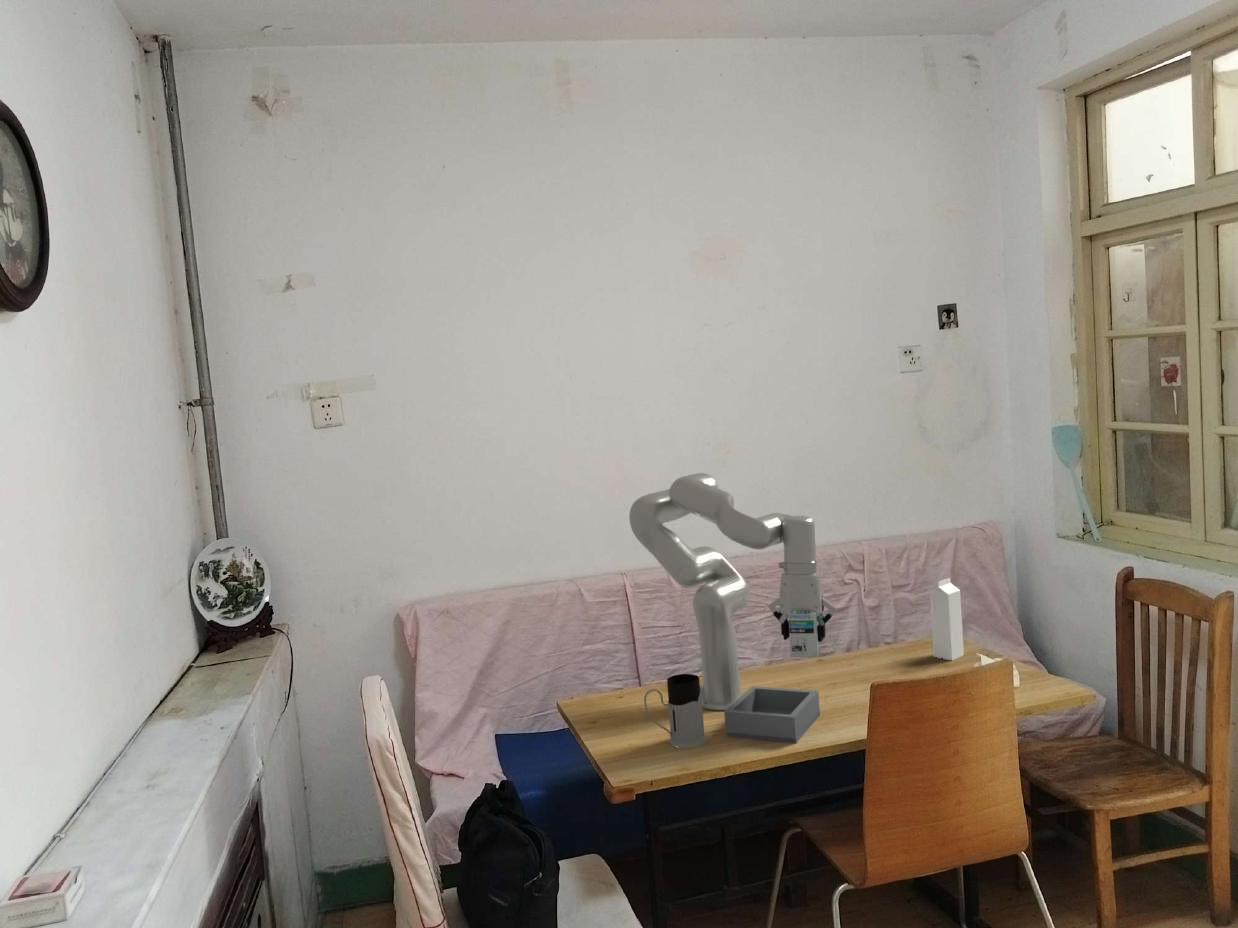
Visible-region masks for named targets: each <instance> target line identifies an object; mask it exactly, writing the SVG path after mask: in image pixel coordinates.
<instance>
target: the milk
mask: <svg viewBox="0 0 1238 928" xmlns="http://www.w3.org/2000/svg"><path fill="white" fill-rule="evenodd" d="M961 597H962V596H961V590H960V589H959V588H958V587H957V586H955V585H954V584H953V583H952V582H951V577H948V578H945V579H941V580H939V581H938V582H937V587H935V588H934V589H932V590H931V591H929V601H930V602H929V603H930V616H931V617H930V620H931V622H930V623H931V630H932V631H931V635H932V637H931V638H932V649H933V650H932V651H933V653H932V654H933V658H935V657H937V658H936V659H941V658H943V659H942V660H948V661H951V660H952V661H955V660H957V659H960V658H962V657H964V656H965V652H964V651H965V650H964V637H963V636H964V633H963V616H962V615H963V613H962V599H961ZM963 655H964V656H963Z"/></svg>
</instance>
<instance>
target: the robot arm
mask: <svg viewBox="0 0 1238 928" xmlns="http://www.w3.org/2000/svg"><path fill="white" fill-rule="evenodd" d="M734 506H735V499H734V497H733V495H732V494H731V493H730V492H728V491H725V490H722V489H720V488H719V486H718V482H717V481H716V479H715V478H714V477H712V476H711V475H710V474H707V473H703V472H699V473H694V474H693V473H692V474H689V475H688V474H687V475H685V476H682V477H678V478H676V480H674V481H673V482H672V484H671V485H670V488H667V489H665V490H661V491H656V492H651V493H648V494H646V495H643V496H641V497H639V498H637V499H636V500H635V501H633V503H632V504H631V506H630V510H629V518H628V519H629V524H630V528H631V532H632V533H633V535H634V537H635V538H636V539H637V540H638V542H639V543H640V544H641V545H642V546H643V547H644V548H645V549H646V550H647V551H648V552H649V553H650V554H651V555H652V556H653V557H654V558H655V559H656V560H657V562H658V563H659V564H660V565H661V567H662V568H663V569H664V570H665V571H666V572H667V573H668V575H669V576H670V577H671V578H672V579H673V580H674V581H675V582H676V584H677V585H679V586H680V587H682V588H684V589H693V588H696V587H698V586H701V587H699V588H698V589H697V590H696V591H695V593H694V594H693V595H694V596H693V599H692V608H693V613H694V615H695V619H696V624H697V629H698V639H699V647H700V649H699V650H700V659H701V661H700V662H701V674H702V684H700V688H701V698H702V709H703V708H704V709H706V710H712V711H713V710H714V711H725V710H726V709H728V708H729V707H730V706H731V705H732V704H733V703H734V702H735V701H736V700H737V699H739V698H740V697H741V696H742V695H743V694H744V693H745V692H742V691H741V677H740V666H739V665H740V664H739V653H738V651H739V650H738V642H737V640H738V639H737V633H736V631H737V630H736V629H735V626H734V624H733V622H732V619H731V615H732V614H735V613H737V612H739V611H741V610H743V609H745V608H746V607H747V606H748V604H749V603H750V600H751V595H752V594H751V589H750V587H749V585H748V584H749V583H747V582H746V580H745V578H744V577H743V576H742V575H741V574H740V573H739V572H738V571H737V569H735V568H734V566H733V565H732V564H731V563H730V562H729V561H728V560H727V559H726V558H725V556H723V554H721V552H720V551H718V550H716V549H715V548H713V547H710V546H706V545H705V546H704V545H703V546H698V547H695V548H691V547H690V546H688V544H686V542H685V541H683V539H682V538H681V537H680V535H678V534H677V533H676V532H675V531H672V530H671V529H670V528H667V526H665V525H663V524H665V523H669V522H672V521H677V520H679V519H681V518H684V517H685V516H688V515H690V514H693V515H695V516H697V517H700V518H702V519H704V520H706V521H708V522H711V523H713V524H715V525H716V527H717V528H718V529H719V531H720V532H721V533H722V534H723V535H724V536H725V537H727V539H730V540H731V541H733V542H735V543H737V544H740V545H742V546H744V547H746V548H748V549H752V550H765V549H768V548H770V547H772V546H776V545H780V544H783V561H782V562H778V568H779V569H783V573H781V575H780V580H779V581H780V582H779V596H778V597H779V598H777V599H775V600H773V601H772V602H771V603H769V604H768V605H767V607H768V609H769V611H770V612H771V613H772V614H773V616H774V618H776V619H777V620H778V622H779V623H780V630H781V636H783V640H784V641H787V640H788V639H790V635H789V616H788V611H789V610H796V611H809V612H816V617H817V632H818V643H822V641H823V640H824V639H825V638H826V637H827V636H826V635H827V634H826V624H827V622H828V621H830V620H831V618H832V617H833V616H834V615H835V613H836V612H837V610H838V608H837V606H835V605H834V604H832V602H830V601H828V599H826V598H825V597H824V590H823V584H822V580H821V575H820V572H817V552H816V551H817V550H816V531H815V522H814V519H813V518H812V517H810V516H807V515H794V516H793V515H789V514H785V513H780V512H774V513H769V514H765V515H761V516H759V517H756V518H755V517H752V516H749V515H747V514H745V513H743V512H741V511H738V510H737V509H735V507H734ZM777 606H779V607H777ZM825 608H826V609H827V610H828V612H827V614H826V615H824V613H823V612H824V610H825ZM778 609H779V610H778Z"/></svg>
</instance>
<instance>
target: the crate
mask: <svg viewBox="0 0 1238 928" xmlns="http://www.w3.org/2000/svg"><path fill="white" fill-rule="evenodd" d="M743 693H744V694H743V695H742V696H741V697H740V698H739V699H737V700H736V701H735V702H734V703H733V704H732V705H731V706H730V707H729V708H728V709H726V710H723V711H724V713H723V714H724V723H725V725H724V727H725V736H726V737H729V738H730V737H731V738H738V739H739V738H741V739H750V740H759V741H760V740H761V741H762V740H763V741H771V742H779V741H780V743H788V744H789V743H791V744H792V743H793V744H797V743H798V742H799V740H801V738H802V737H803V735H805V733H806V732H807V731H808V730H809V728H811V726H812V725H813V724H814V722H816V720H817V719H818V718H819V717H820V715H821V712H820V710H821V709H820V697H819V690H811V689H810V690H809V689H808V690H807V689H796V688H785V687H784V688H782V687H769V686H755V685H752V686H751V687H750V688H748V689H747V690H746V691H745V692H743Z"/></svg>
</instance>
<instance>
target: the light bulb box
mask: <svg viewBox="0 0 1238 928" xmlns="http://www.w3.org/2000/svg"><path fill="white" fill-rule="evenodd" d="M788 621H789V635H790V637H789V650H790V651H789V652H790V658H819V642H818V632H817V626H818V621H817V617H816V612H809V611H796V610H789V611H788Z"/></svg>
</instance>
